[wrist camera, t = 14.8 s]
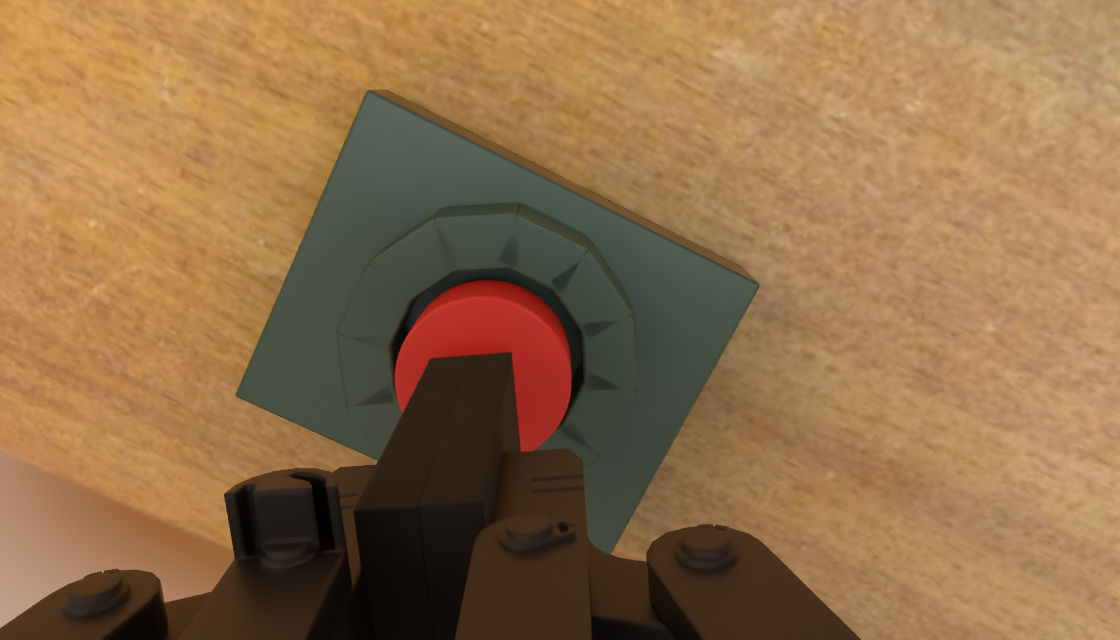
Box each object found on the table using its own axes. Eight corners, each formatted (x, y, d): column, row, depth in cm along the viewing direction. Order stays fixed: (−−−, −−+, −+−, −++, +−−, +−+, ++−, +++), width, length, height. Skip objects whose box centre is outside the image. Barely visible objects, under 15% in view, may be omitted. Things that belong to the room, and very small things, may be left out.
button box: (743, 267, 24) (779, 301, 20) (601, 525, 26) (609, 602, 22) (385, 88, 23) (349, 88, 19) (261, 370, 25) (206, 423, 21)
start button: (598, 323, 21) (601, 344, 19) (527, 460, 21) (524, 493, 20) (449, 251, 20) (439, 266, 18) (381, 393, 21) (365, 420, 19)
